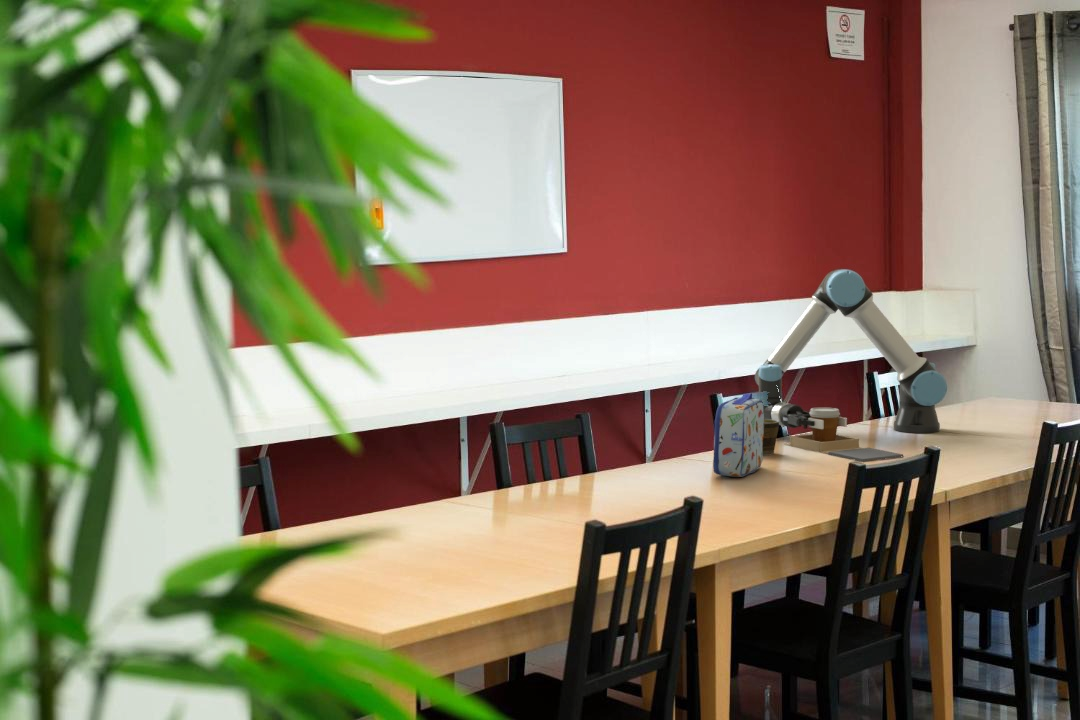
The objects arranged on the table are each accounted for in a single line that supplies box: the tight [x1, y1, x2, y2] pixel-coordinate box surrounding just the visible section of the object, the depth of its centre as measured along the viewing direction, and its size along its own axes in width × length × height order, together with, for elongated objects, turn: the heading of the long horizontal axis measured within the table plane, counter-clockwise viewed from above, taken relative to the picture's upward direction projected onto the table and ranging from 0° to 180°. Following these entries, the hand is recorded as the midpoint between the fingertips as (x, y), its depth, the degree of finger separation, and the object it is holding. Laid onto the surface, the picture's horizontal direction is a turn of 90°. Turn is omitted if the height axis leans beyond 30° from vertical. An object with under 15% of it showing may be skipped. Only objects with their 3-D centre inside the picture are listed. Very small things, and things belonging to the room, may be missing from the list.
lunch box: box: [712, 392, 764, 478], centre depth 364 cm, size 28×10×22 cm, turn 158°
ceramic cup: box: [762, 419, 780, 456], centre depth 395 cm, size 13×10×10 cm
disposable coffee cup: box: [809, 407, 841, 442], centre depth 407 cm, size 10×10×12 cm
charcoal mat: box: [827, 447, 904, 463], centre depth 390 cm, size 16×15×1 cm
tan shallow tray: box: [783, 433, 862, 455], centre depth 407 cm, size 15×21×3 cm
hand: (834, 423), depth 402 cm, fingers closed on disposable coffee cup, 8 cm apart
